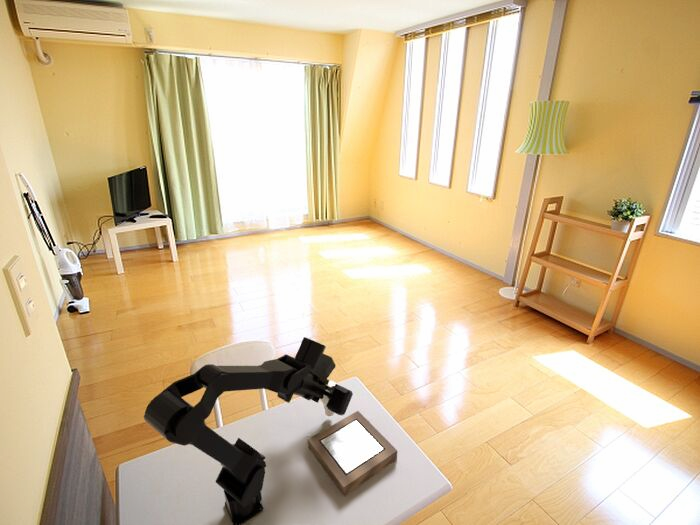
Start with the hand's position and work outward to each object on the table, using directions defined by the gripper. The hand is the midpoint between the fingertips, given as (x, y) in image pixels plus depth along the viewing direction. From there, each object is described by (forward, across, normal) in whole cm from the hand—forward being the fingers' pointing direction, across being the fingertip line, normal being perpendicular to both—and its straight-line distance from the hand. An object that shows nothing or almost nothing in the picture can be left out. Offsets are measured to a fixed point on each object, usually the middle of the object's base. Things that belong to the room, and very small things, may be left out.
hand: (332, 393), depth 101 cm
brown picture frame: (0, -12, +11) cm, 16 cm away
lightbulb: (+4, 0, +6) cm, 7 cm away
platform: (0, -12, +10) cm, 15 cm away
